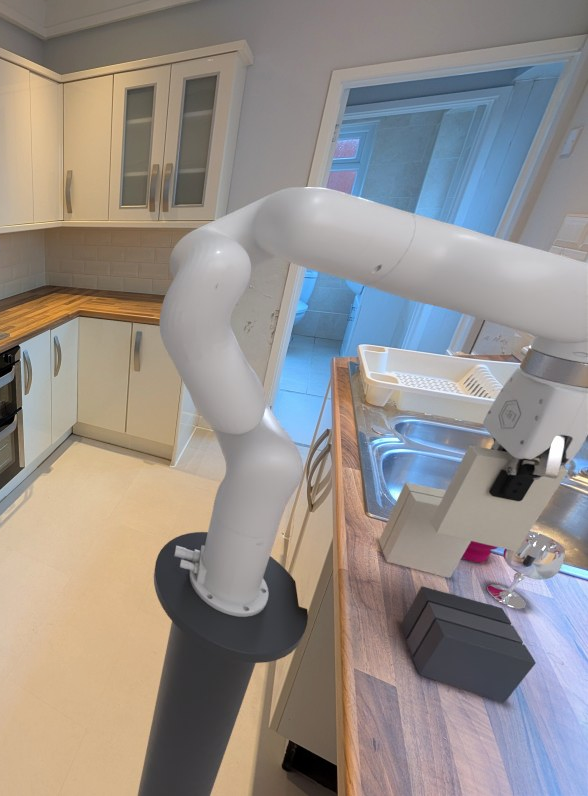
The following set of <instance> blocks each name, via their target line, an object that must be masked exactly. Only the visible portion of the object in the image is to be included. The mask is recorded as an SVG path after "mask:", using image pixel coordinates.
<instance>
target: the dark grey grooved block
mask: <svg viewBox="0 0 588 796" xmlns="http://www.w3.org/2000/svg"><path fill="white" fill-rule="evenodd" d="M400 627H401V630H402V632H403V635H404V638H405V640H406V642H407V646H408V649H409V651H410V655H411V656H412V657H413V658H412V659H413V662H414V665H415V669H416V670H417V673H418V675H419V676H421V677H424V678H427V679H430V680H433V681H436V682H439V683H441V684H445V685H448V686H452V687H454V688H457V689H460V690H463V691H466V692H468V693H472V694H475V695H478V696H481V697H484V698H486V699H491V700H493V701H496V702H498V703H502V704H505V703H506V702H507V701H508V699H509V698H510V697H511V695H512V694H513V693H514V691H516V689H517V688H518V686H519V685H520V684H521V683H522V682H523V680H524V679H525V678H526V676H527V675H528V674H529V673H530V672H531V670H532V669H533V668H534V666H535V665H536V664H537V662H536V661H535V659H534V657H533V655H532V654H531V652H530V651H529V649H528V648H527V646H526V645H525V644H524V641H523V640H522V638H521V636H520V635H519V632H518V631H517V630H516V628H515V626H514V625H512V622H511V620H510V618H509V617H508V615H507V613H506V612H505V611H504V608H503V607H499V606H495V605H492V604H488V603H485V602H482V601H477V600H475V599H474V600H473V599H471V598H467V597H462V596H459V595H456V594H452V593H449V592H445V591H441V590H439V589H438V590H437V589H433V588H430V587H426V586H423V585H421V586H420V588H419V590H418V592H417V594H416V595H415V597H414V599H413V601H412V603H411V605H410V606H409V608H408V609H407V612H406V613H405V616H404V617H403V619H402V621H401V623H400Z"/></svg>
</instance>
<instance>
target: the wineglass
mask: <svg viewBox="0 0 588 796" xmlns="http://www.w3.org/2000/svg"><path fill="white" fill-rule="evenodd" d="M502 555H503V559H504V561H505V563H506V564H507V566H508V567H509V568H511V569H512V570H513V571H514V572H515V574H514V575H513V581H512V583H511V584H510V585H509V587H505V586H502V585H500V584H489V585H487V587H486V590H487V592H488V594H489V595H490V596H491V597H492V598H494V599H495V600H496V601H498V602H500V603H501V604H503V605H505V606H507V607H510V608H513V609H520V610H521V609H524V608H526V601H525V600H524V599H523V598H522V597H521V596H520V594H518V593H516V592H515V591H514V589H515V587H516V586H517V585H519V583H521V582H522V581H523V580H525V577H526V578H529V579H532V580H537V581H538V580H539V581H540V580H543V581H544V580H549V579H552V578H553V577H555V576H556V575H557V574H558V573H559V572H560V570H561V568H562V566H563V564H564V560H565V557H566V556H565V555H566V549H565V547H564V546H563V545H562V544H561V543H560V542H558V541H557V540H555V539H553V538H552V537H550V536H548V535H545V534H543V533H539V532H536V531H532V530H530V531H529V533H528V534H527V536H526V537H525V539H524V540H523V542H522V544H521V545H520V547H519V548H518V550H517V551H512V550H508V549H503V554H502Z"/></svg>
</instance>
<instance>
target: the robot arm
mask: <svg viewBox="0 0 588 796" xmlns="http://www.w3.org/2000/svg"><path fill="white" fill-rule="evenodd" d="M275 258H279V259H282V260H283V261H285V262H287V263H291V264H293V265H297V266H299V267H303V268H306V269H309V270H312V271H314V272H315V271H316V272H318V273H321V274H326V275H329V276H333V277H336V278H339V279H343V280H345V281H349V282H352V283H355V284H359V285H361V286H364V287H368V288H371V289H374V290H378V291H381V292H383V293H387V294H390V295H394V296H398V297H400V298H403V299H406V300H408V301H413V302H417V303H421V304H425V305H429V306H433V307H438V308H442V309H446V310H450V311H453V312H458V313H461V314H462V315H463V314H464V315H467V316H470V317H473V318H477V319H479V320H483V321H486V322H489V323H493V324H496V325H499V326H503V327H505V328H509V329H513V330H515V331H519V332H522V333H526V334H529V335H532V336H534V337H533V339H532V341H531V343H530V345H529V346H528V349H527V351H526V352H525V355H524V356H523V359H522V360H521V362H520V364H519V366H518V367H517V368H516V369H515V371H513V372H512V374H511V375H510V377H508V379H507V380H506V382H505V383H504V384H503V386H502V388H501V389H500V391H499V392H498V394H497V396H496V397H495V399H494V401H493V402H492V404H491V406H490V407H489V410H488V411H487V413H486V415H485V417H484V419H483V421H482V424H483V428H484V430H486V431H487V433H488V434H490V435H491V437H493V438H492V439H493V443H492V445H491V447H490V449H493V450H499V451H504V452H509V453H510V454H511V455H512V456H513V457H512V459H511V461H510V463H509V465H508V467H507V469H506V470H501V471H500V473H499V475H498V477H497V478H496V480H495V482H494V484H493V486H492V487H491V489H490V491H489V493H490V494H491V495H492V496H494V497H499V498H504V499H509V500H514V501H522V500H523V498H524V496H525V495H526V493H527V491H528V490H529V488H530V486H531V485H532V483H533V482H534V480H538V479H540V477H542V476H543V477H549V478H554V479H556V478H558V476H559V471H560V466H563V467H565V466H566V465H568V464H570V462H572V461H573V459H574V458H575V456H576V455H577V454H578V452H579V451H580V450H581V448H582V446H583V445H584V443H585V441H586V439H587V437H588V261H582V260H579V259H575V258H573V257H569V256H564V255H561V254H557V253H553V252H550V251H546V250H543V249H539V248H535V247H531V246H527V245H524V244H520V243H517V242H513V241H510V240H506V239H502V238H499V237H496V236H492V235H488V234H485V233H482V232H479V231H477V230H473V229H470V228H466V227H463V226H460V225H456V224H453V223H449V222H446V221H441V220H438V219H436V218H435V219H434V218H431V217H428V216H423V215H420V214H417V213H414V212H410V211H407V210H403V209H400V208H396V207H392V206H390V205H387V204H383V203H379V202H376V201H373V200H370V199H367V198H363V197H360V196H357V195H353V194H351V193H346V192H343V191H340V190H336V189H331V188H327V187H318V186H317V187H315V186H314V187H312V186H311V187H306V186H292V187H287V188H282V189H280V190H278V191H275V192H273V193H270V194H269V195H265V196H263V197H261V198H259V199H258V200H255V201H253V202H251V203H249V204H246V205H245V206H243V207H240V208H238V209H236V210H234V211H232V212H230V213H228V214H225V215H224V216H221V217H219V218H217V219H215V220H213V221H210V222H208V223H206V224H204V225H201V226H199V227H198V228H196V229H193V230H192V231H190V232H188V233H187V234H186V235H184V236H183V237H182V238H181V239H180V240H179V241H178V242H177V243H176V244H175V245H174V248H173V249H172V251H171V254H170V257H169V271H170V274H171V277H172V279H173V280H172V282H171V284H170V286H169V287H168V289H167V291H166V293H165V296H164V298H163V301H162V304H161V308H160V312H159V313H160V314H159V323H158V324H159V333H160V336H161V337H160V338H161V340H162V343H163V346H164V348H165V350H166V351H167V353H168V356H169V358H170V359H171V361H172V363H173V365H174V367H175V368H176V369H175V370H177V373H178V375H179V377H180V378H181V381H182V382H183V385H184V386H185V387H186V389H187V392H188V393H189V395H190V398H191V401H192V403H193V405H194V407H195V409H196V410H197V413H198V414H199V415H200V416H201V418H202V419H203V420H204V421H205V422H206V423H207V424H208V425H209V426H210V428H211V430H212V432H213V434H214V435H215V437H216V439H217V442H218V445H219V447H220V450H221V453H222V455H223V458H224V461H225V475H224V477H223V479H222V481H221V482H220V484H219V486H218V487H217V490H216V494H215V497H214V501H213V506H212V512H211V515H210V521H209V525H208V529H207V530H208V531H207V532H208V534H207V539H206V543H205V546H203V545H202V546H201V551H199V550H196V549H195V551H191V550H188V549H186V548H183V547H180V546H177V545H176V550H175V557H179V558H182V559H187V560H191V561H193V562H192V563H191V562H189V561H185V560H182V559H181V564H180V567H181V568H184V569H189V570H190V573H189V576H190V581H191V584H192V586H193V588H194V590H195V591H196V593H197V594H198V595H199V596H200V597H201V599H202V600H204V601H205V602H206V603H207V604H208V605H210V606H211V607H213V608H214V609H216V610H218V611H221V612H223V613H226V614H229V615H232V616H238V617H247V616H253V615H255V614H258V613H259V612H261V611H262V610H263V609H264V607H265V606H266V603H267V601H268V595H269V593H268V587H267V585H266V582H265V580H264V579H263V576H264V573H265V570H266V567H267V563H268V560H269V557H270V556H271V553H272V550H273V548H274V544H275V541H276V538H277V534H278V531H279V527H280V524H281V521H282V519H283V515H284V513H285V510H286V508H287V506H288V503H289V502H290V499H291V498H292V496H293V494H294V493H295V491H296V489H297V488H298V487H299V485H300V483H301V481H302V478H303V474H304V463H303V458H302V457H301V453H300V451H299V449H298V447H297V446H296V444H295V442H294V440H293V439H292V437H291V436H290V435H289V433H288V432H287V430H286V429H285V428H284V426H283V425H282V424H281V423H280V421H279V419H278V418H277V417H276V415H275V413H274V412H273V411H272V408H271V407H270V405H269V404H268V402H267V400H266V393H265V389H264V386H263V384H262V382H261V380H260V377H259V376H258V374H257V373H256V372H255V370H254V369H253V367H251V365H250V364H249V362H248V360H247V358H246V356H245V354H244V352H243V351H242V348H241V347H240V344H239V342H238V339H237V337H236V335H235V333H234V330H233V329H232V325H231V318H232V314H233V311H234V309H235V307H236V306H237V304H238V302H239V301H240V299H241V298H242V296H243V294H244V293H245V291H246V289H247V287H248V285H249V283H250V280H251V279H250V278H251V275H252V269H253V268H256V267H258V266H260V265H262V264H265V263H267V262H270V261H271V260H273V259H275ZM524 460H527V461H532V462H534V464H523V465H522V463H523V461H524Z"/></svg>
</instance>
